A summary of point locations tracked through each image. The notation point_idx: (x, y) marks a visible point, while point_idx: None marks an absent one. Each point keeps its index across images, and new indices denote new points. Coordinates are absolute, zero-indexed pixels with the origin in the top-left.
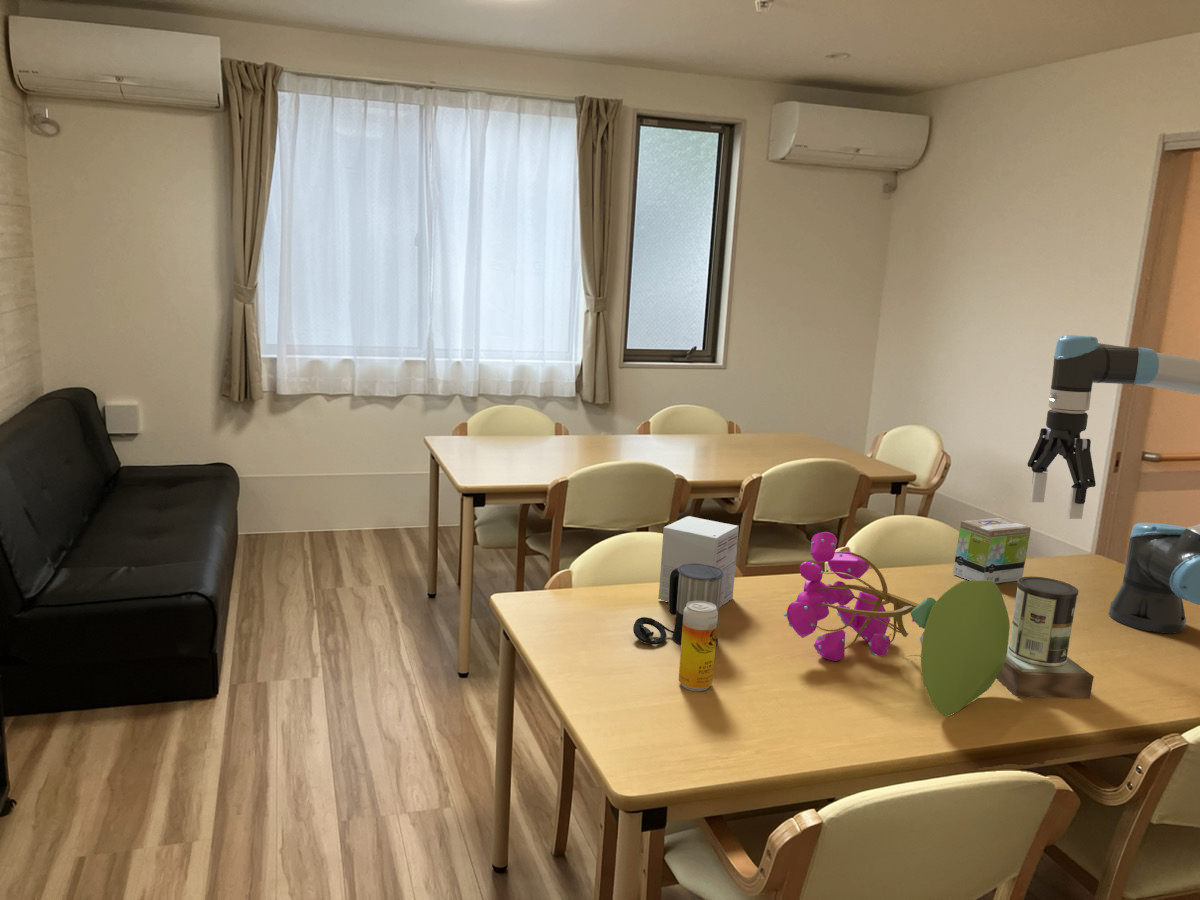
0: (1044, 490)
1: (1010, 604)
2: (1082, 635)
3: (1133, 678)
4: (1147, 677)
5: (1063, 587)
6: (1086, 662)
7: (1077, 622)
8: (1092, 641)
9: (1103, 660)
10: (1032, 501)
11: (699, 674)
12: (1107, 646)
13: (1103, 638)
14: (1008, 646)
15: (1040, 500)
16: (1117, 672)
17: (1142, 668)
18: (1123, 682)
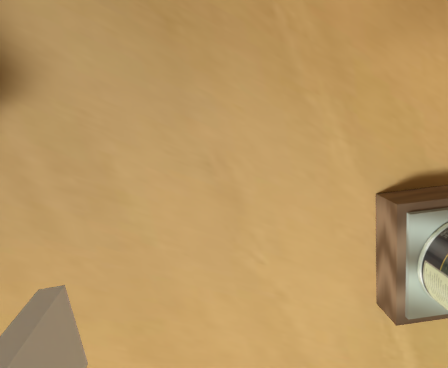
0: (22, 358)
1: (40, 140)
2: (209, 51)
3: (416, 55)
4: (410, 22)
5: None
6: (352, 114)
7: (125, 22)
8: (241, 45)
9: (339, 73)
10: (86, 366)
11: None
12: (264, 23)
13: (218, 7)
14: (424, 295)
15: (65, 318)
16: (392, 74)
17: (370, 7)
18: (433, 86)
